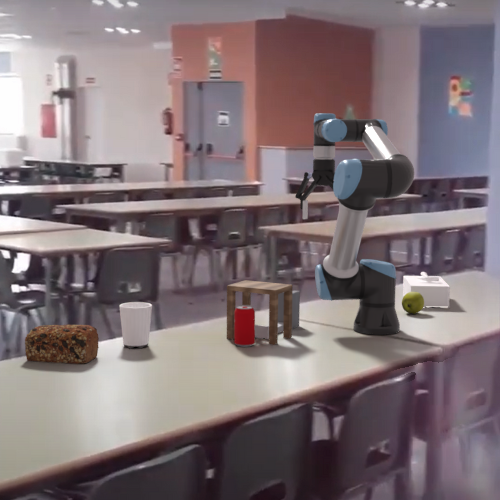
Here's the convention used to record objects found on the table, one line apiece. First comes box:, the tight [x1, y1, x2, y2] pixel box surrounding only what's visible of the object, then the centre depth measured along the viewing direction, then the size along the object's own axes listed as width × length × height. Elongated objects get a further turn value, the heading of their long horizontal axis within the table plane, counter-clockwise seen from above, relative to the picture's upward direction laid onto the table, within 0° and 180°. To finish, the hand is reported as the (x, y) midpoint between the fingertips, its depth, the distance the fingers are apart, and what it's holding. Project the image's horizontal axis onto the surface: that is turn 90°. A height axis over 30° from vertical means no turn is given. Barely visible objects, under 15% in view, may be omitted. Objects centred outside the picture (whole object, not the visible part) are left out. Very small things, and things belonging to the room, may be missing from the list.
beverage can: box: [233, 304, 256, 348], centre depth 282 cm, size 6×6×12 cm
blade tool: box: [255, 289, 301, 340], centre depth 302 cm, size 6×23×12 cm, turn 152°
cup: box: [118, 301, 153, 349], centre depth 279 cm, size 10×10×13 cm
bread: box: [24, 323, 100, 365], centre depth 263 cm, size 19×11×10 cm, turn 77°
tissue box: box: [402, 271, 451, 307], centre depth 357 cm, size 14×25×11 cm, turn 177°
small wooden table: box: [226, 279, 293, 346], centre depth 291 cm, size 17×12×17 cm
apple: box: [401, 292, 424, 314], centre depth 334 cm, size 8×9×8 cm
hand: (322, 220), depth 321 cm, fingers open, 13 cm apart
